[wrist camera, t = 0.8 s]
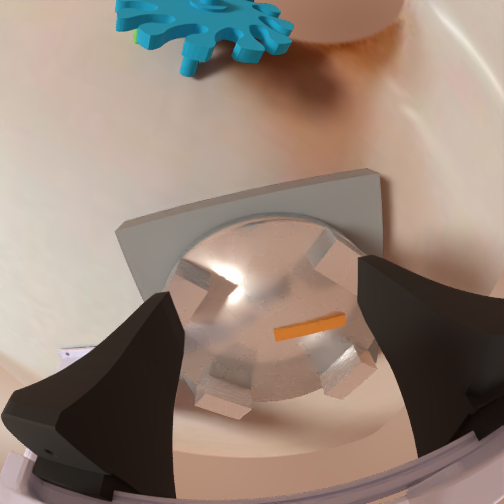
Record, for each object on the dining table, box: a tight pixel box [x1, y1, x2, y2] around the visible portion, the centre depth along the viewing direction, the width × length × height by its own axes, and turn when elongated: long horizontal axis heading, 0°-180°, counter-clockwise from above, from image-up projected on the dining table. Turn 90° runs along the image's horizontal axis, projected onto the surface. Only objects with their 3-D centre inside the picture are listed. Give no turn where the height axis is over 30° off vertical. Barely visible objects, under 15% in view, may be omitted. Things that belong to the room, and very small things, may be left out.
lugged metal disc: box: [162, 212, 377, 420], centre depth 19 cm, size 16×16×4 cm
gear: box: [115, 0, 294, 77], centre depth 13 cm, size 11×6×10 cm
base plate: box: [115, 169, 383, 397], centre depth 22 cm, size 18×18×2 cm
